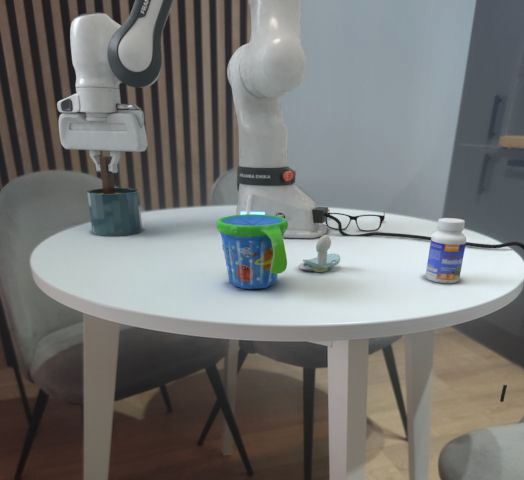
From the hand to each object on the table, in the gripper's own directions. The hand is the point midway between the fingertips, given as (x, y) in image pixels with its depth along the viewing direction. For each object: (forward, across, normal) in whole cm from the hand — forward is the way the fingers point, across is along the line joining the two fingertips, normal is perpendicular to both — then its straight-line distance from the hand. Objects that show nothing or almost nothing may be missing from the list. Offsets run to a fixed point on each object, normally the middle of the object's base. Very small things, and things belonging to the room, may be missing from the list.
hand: (107, 172), depth 112 cm
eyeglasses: (+13, -53, -25) cm, 60 cm away
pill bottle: (+13, -74, +16) cm, 77 cm away
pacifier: (+13, -53, +17) cm, 57 cm away
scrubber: (+9, 0, 0) cm, 9 cm away
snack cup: (+13, -45, +29) cm, 55 cm away
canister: (+13, -2, +1) cm, 13 cm away
